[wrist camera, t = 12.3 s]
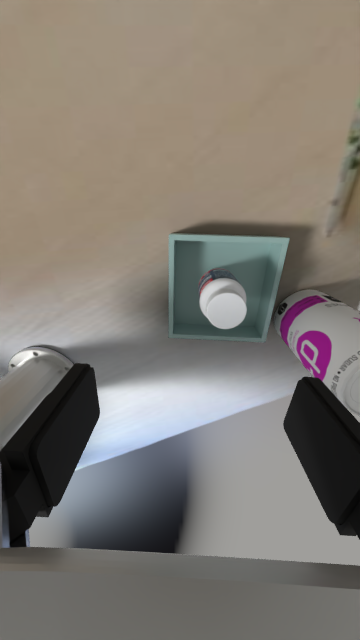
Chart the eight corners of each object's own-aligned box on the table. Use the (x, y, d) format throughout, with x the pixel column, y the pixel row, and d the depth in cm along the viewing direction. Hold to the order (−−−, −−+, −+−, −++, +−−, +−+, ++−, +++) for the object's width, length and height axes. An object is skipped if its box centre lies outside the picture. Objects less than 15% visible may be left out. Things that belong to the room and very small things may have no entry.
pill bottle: (203, 263, 27) (209, 279, 19) (241, 272, 28) (262, 292, 19) (193, 299, 29) (194, 328, 21) (228, 308, 30) (242, 339, 22)
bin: (256, 328, 32) (265, 342, 28) (171, 325, 32) (168, 337, 28) (275, 236, 26) (289, 238, 22) (171, 233, 26) (168, 234, 23)
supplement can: (268, 339, 32) (325, 423, 19) (276, 288, 29) (352, 345, 15) (322, 338, 32) (421, 424, 18) (336, 286, 28) (472, 343, 15)
